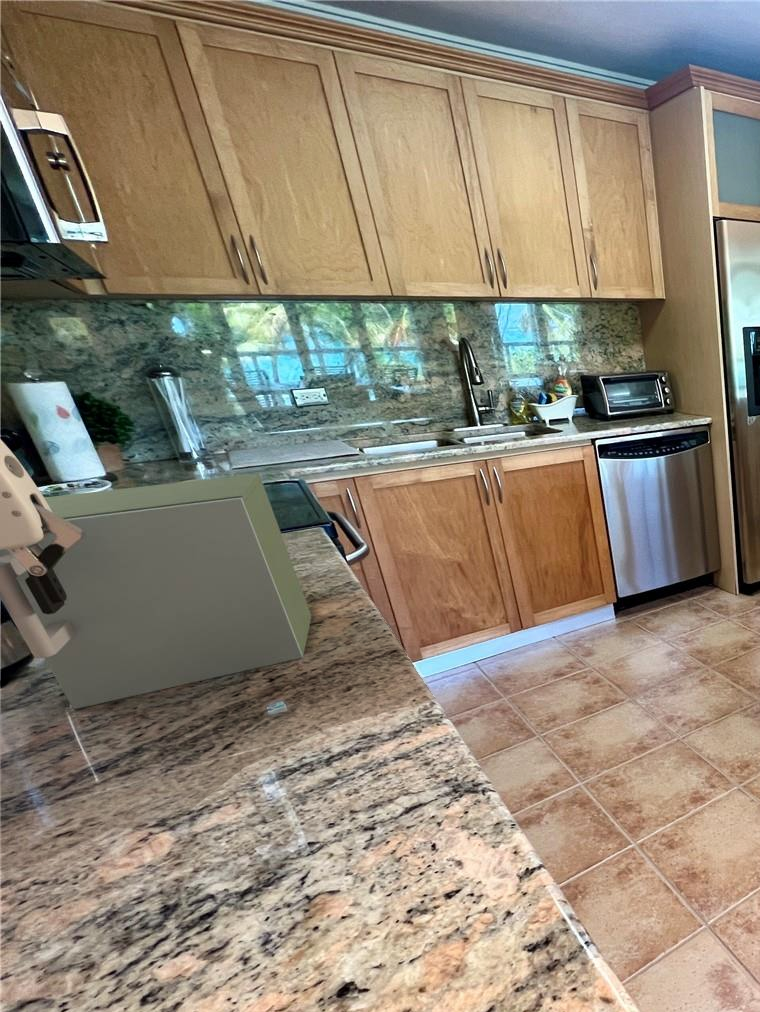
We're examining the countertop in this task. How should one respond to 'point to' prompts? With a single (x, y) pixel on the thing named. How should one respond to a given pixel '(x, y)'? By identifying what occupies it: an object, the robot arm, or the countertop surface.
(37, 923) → the countertop surface
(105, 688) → the door
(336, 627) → the countertop surface
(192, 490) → the cupboard
